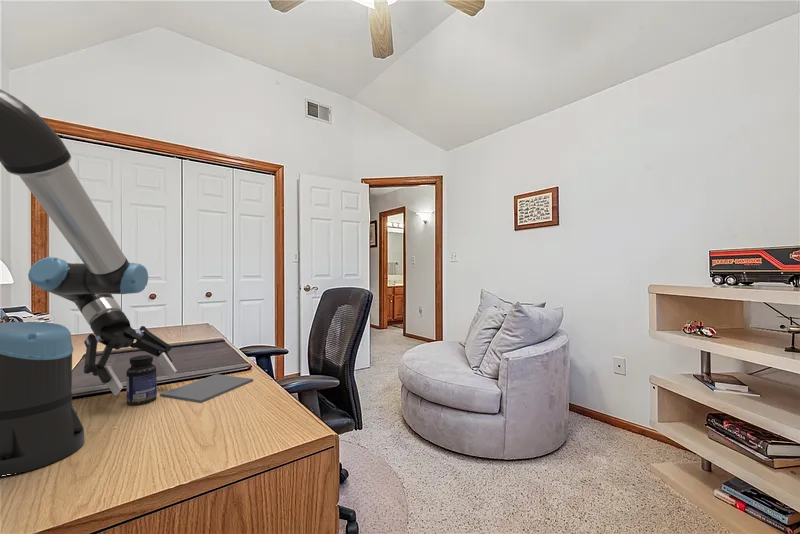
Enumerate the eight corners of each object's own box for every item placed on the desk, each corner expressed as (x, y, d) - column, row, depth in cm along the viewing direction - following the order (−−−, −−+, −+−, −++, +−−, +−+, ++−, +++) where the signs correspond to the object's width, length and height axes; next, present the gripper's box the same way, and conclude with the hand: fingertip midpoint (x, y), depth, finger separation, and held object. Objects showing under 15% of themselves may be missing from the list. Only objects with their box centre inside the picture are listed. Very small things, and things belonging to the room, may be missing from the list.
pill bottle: (162, 397, 93) (162, 354, 93) (143, 406, 87) (143, 360, 87) (140, 396, 93) (140, 353, 93) (119, 405, 87) (119, 359, 87)
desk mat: (200, 402, 89) (200, 400, 89) (160, 396, 94) (160, 393, 94) (253, 380, 106) (253, 378, 106) (216, 376, 110) (216, 374, 110)
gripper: (146, 321, 107) (184, 377, 102) (40, 337, 84) (82, 410, 79) (159, 304, 105) (198, 360, 100) (54, 315, 82) (98, 389, 77)
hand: (147, 382), depth 90 cm, fingers open, 13 cm apart
